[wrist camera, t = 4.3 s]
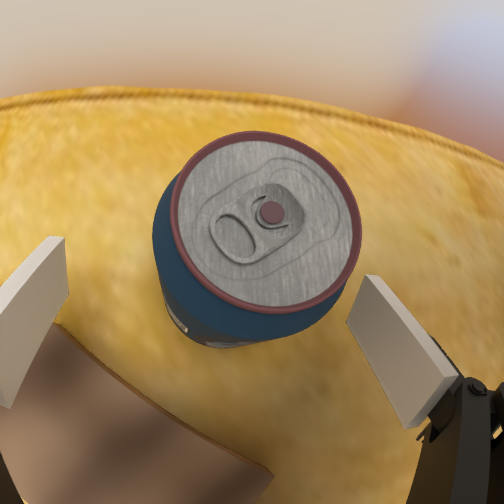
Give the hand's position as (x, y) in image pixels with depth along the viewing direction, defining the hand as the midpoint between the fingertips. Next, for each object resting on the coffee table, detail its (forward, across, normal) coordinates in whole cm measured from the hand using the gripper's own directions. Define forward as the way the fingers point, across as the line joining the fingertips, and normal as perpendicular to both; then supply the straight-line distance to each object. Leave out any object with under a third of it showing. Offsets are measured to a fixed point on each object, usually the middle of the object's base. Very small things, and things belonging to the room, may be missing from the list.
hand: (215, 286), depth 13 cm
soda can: (+6, +1, -4) cm, 7 cm away
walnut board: (-3, -5, -13) cm, 14 cm away
